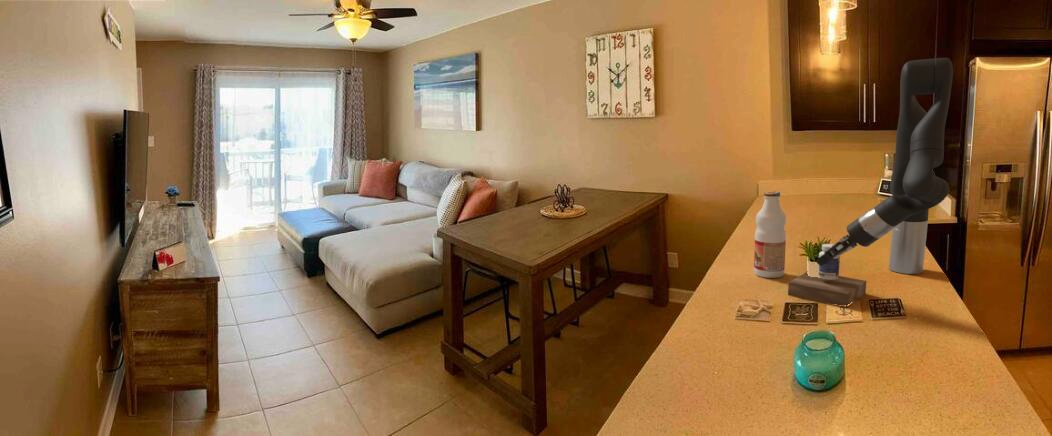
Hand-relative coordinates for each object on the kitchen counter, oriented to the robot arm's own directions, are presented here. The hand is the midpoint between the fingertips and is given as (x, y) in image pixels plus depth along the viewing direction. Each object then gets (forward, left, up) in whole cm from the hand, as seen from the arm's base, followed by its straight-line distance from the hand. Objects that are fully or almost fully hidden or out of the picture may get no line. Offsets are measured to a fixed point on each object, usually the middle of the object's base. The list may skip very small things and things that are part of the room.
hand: (822, 260), depth 159 cm
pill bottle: (0, +2, -5) cm, 5 cm away
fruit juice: (-8, -19, -10) cm, 23 cm away
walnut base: (0, +2, -10) cm, 10 cm away
